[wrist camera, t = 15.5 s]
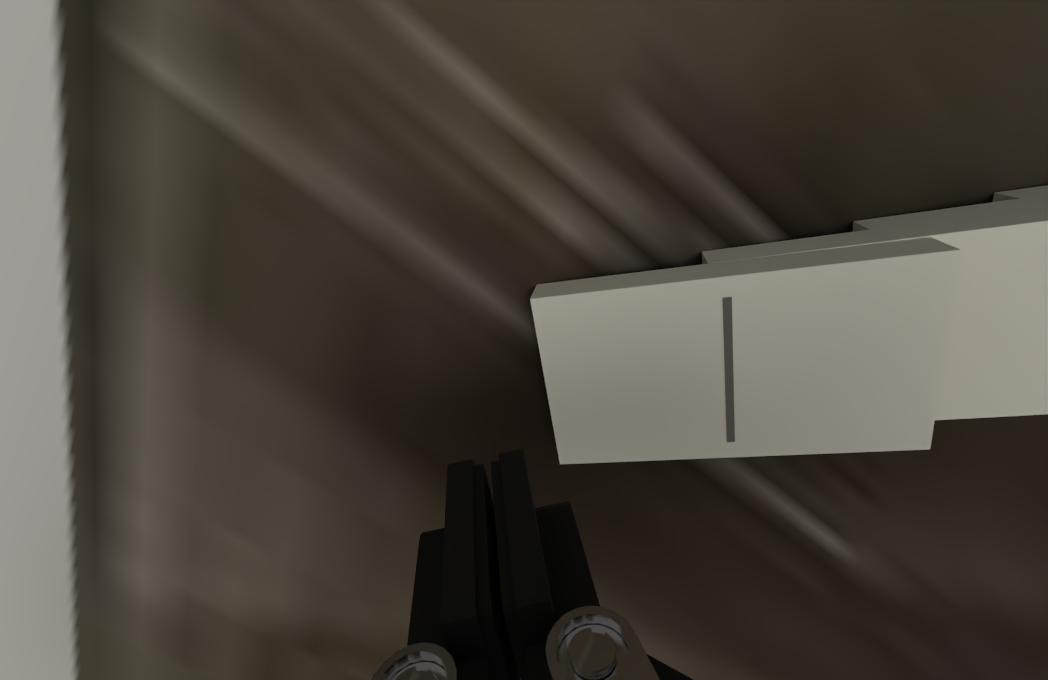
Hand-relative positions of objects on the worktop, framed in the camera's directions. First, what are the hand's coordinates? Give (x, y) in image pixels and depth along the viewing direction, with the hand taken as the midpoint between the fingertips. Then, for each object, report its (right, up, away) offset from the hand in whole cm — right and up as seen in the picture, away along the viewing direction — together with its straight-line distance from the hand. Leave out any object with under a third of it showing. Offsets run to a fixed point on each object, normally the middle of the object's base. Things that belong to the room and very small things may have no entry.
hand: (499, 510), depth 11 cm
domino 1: (+1, +3, +6) cm, 6 cm away
